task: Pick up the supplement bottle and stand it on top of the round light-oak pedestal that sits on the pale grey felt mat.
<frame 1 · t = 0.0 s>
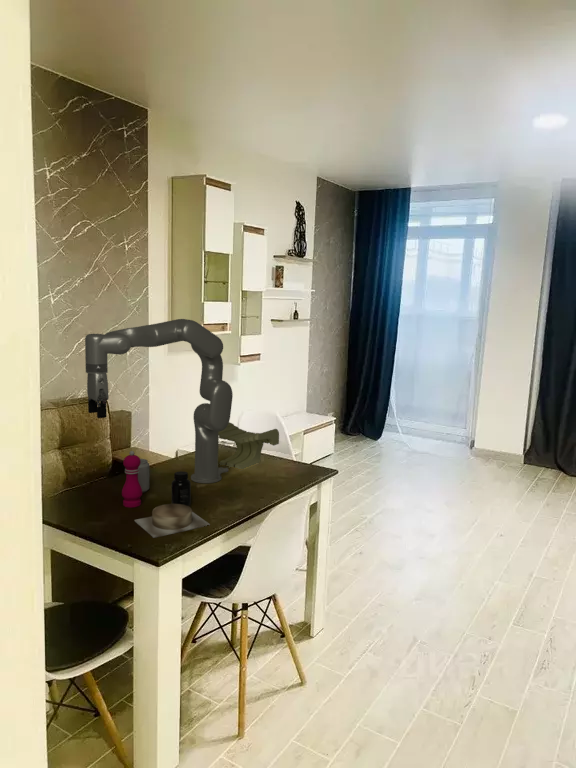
hand: (97, 415, 218), 31 cm above the table, fingers open, 9 cm apart
pedestal: (172, 523, 201), on the table
pepper mill: (132, 505, 217), on the table
slatted curved stool: (240, 464, 272), on the table
supplement bottle: (181, 505, 218), on the table
can: (139, 490, 232), on the table
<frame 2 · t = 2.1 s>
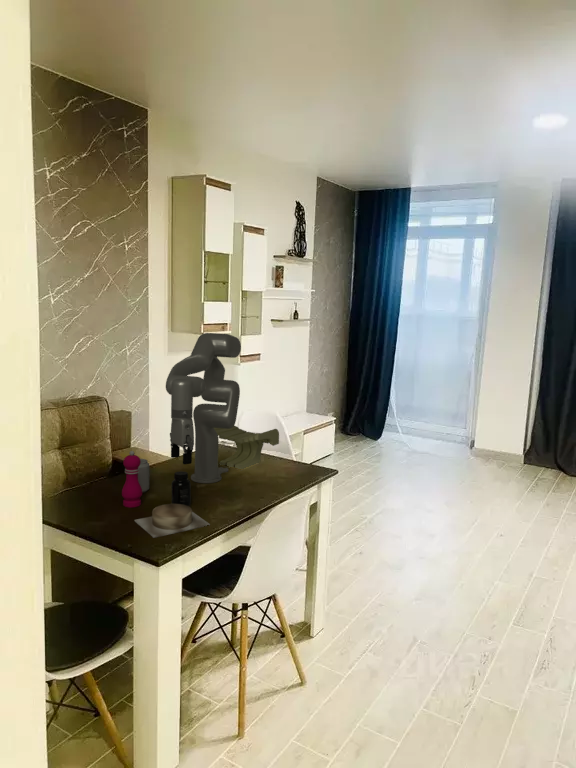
hand: (181, 460, 215), 17 cm above the table, fingers open, 9 cm apart
nothing on the table moved.
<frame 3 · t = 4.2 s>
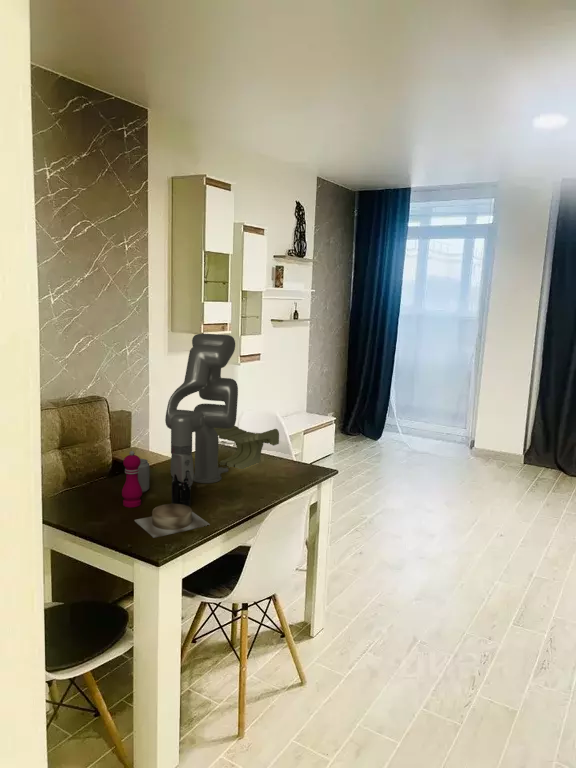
hand: (181, 496, 218), 3 cm above the table, fingers closed on supplement bottle, 6 cm apart
supplement bottle: (181, 505, 218), on the table, touching gripper
everything else where it was.
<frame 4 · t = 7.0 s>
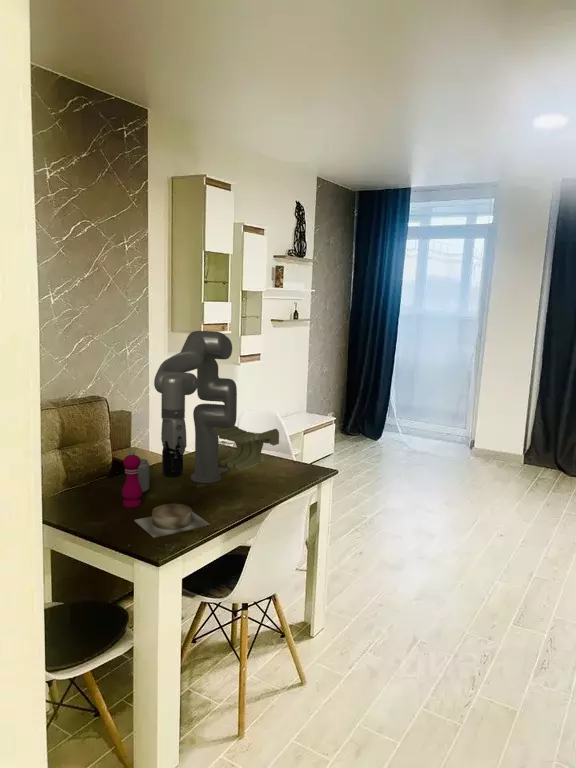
hand: (172, 465, 199), 20 cm above the table, fingers closed on supplement bottle, 6 cm apart
supplement bottle: (172, 475, 199), point 16 cm above the table, touching gripper
everything else where it was.
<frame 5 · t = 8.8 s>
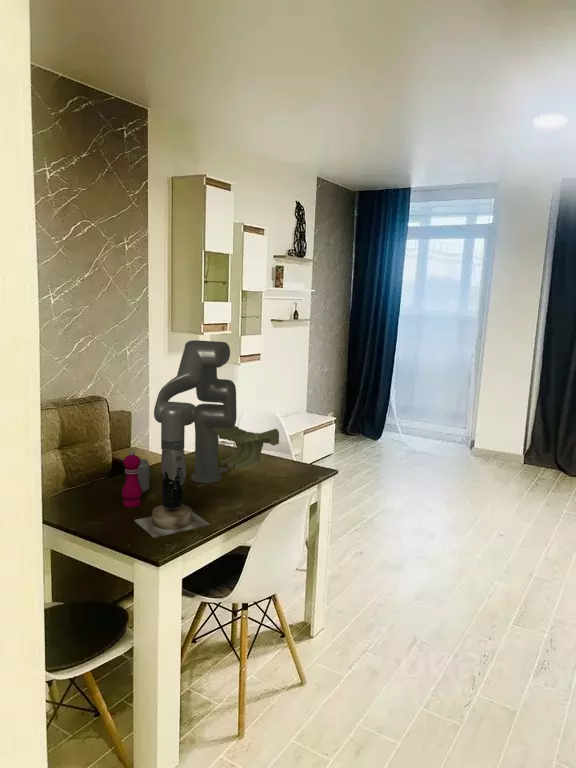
hand: (172, 495, 200), 10 cm above the table, fingers closed on supplement bottle, 6 cm apart
supplement bottle: (172, 505, 200), point 6 cm above the table, touching gripper
everything else where it was.
when the fingers open (8 cm above the table, at t = 10.0 s): supplement bottle stays where it is, resting on pedestal.
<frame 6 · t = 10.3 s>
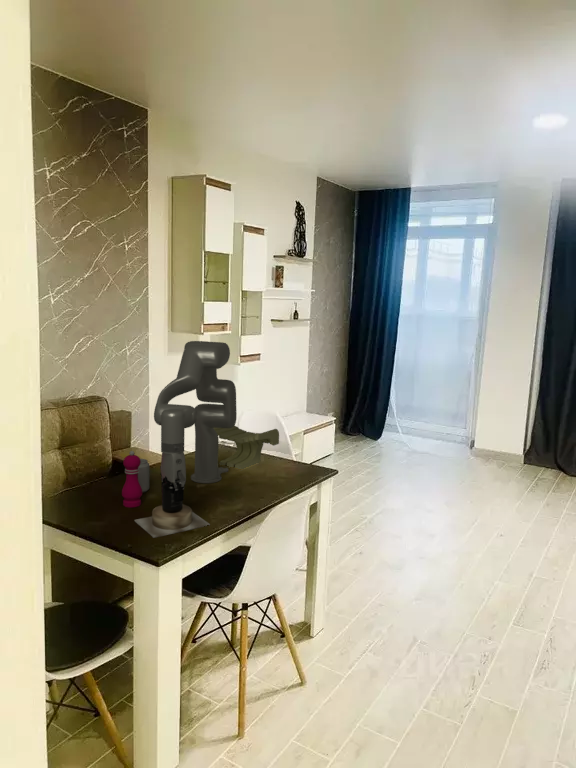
hand: (172, 496, 200), 9 cm above the table, fingers open, 9 cm apart
supplement bottle: (172, 510, 201), point 4 cm above the table, touching pedestal
everything else where it was.
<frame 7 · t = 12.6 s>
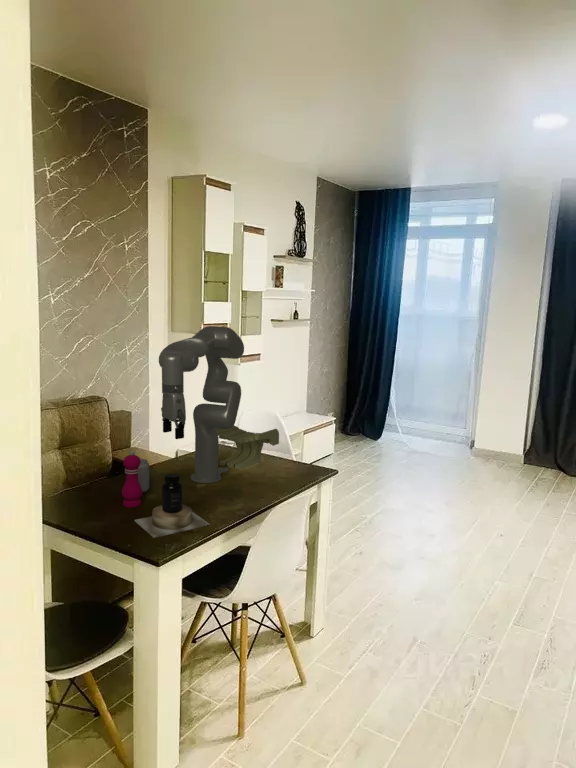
hand: (173, 435, 215), 26 cm above the table, fingers open, 9 cm apart
nothing on the table moved.
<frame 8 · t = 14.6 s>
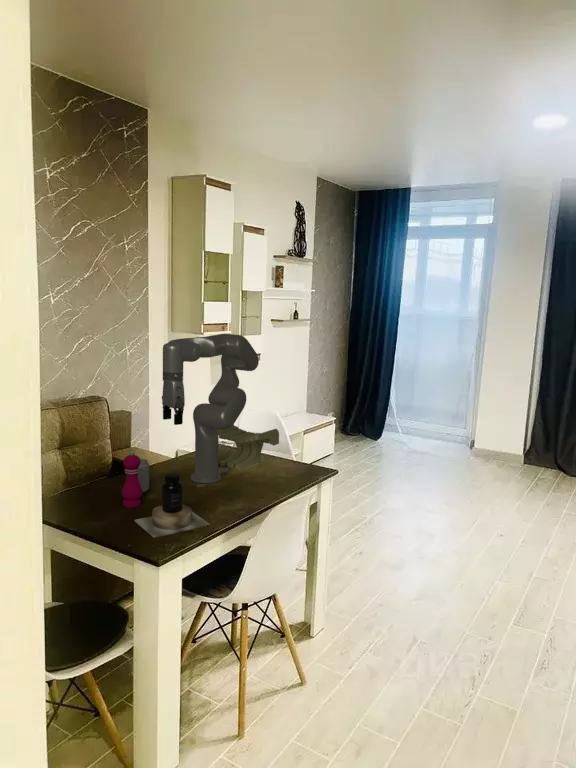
hand: (172, 421, 225), 28 cm above the table, fingers open, 9 cm apart
nothing on the table moved.
at the end: supplement bottle 0.3 cm from the pedestal (horizontally); supplement bottle point 4.3 cm above the table; supplement bottle tilted 0° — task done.
